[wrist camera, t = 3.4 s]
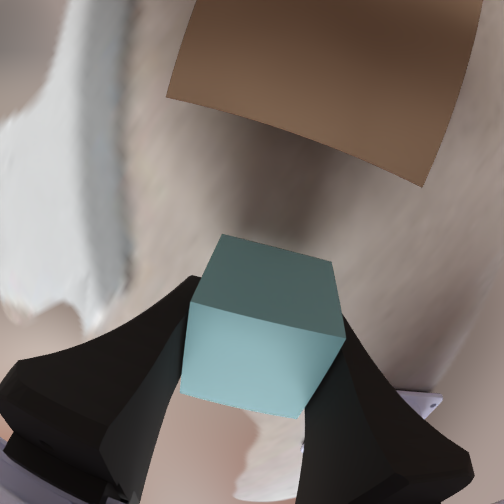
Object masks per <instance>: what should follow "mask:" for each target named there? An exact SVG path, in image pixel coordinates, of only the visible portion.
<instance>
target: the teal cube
mask: <svg viewBox="0 0 504 504" xmlns="http://www.w3.org/2000/svg"><path fill="white" fill-rule="evenodd" d="M345 340H346V334H345V328H344V322H343V317H342V312H341V306H340V301H339V296H338V291H337V286H336V281H335V276H334V271H333V267H332V262H330V261H326V260H323V259H319V258H315V257H311V256H307V255H303V254H299V253H296V252H292V251H288V250H284V249H280V248H276V247H272V246H268V245H264V244H260V243H257V242H253V241H249V240H245V239H241V238H237V237H233V236H229V235H225V234H222V235H221V237H220V239H219V242H218V244H217V246H216V248H215V250H214V252H213V254H212V256H211V258H210V260H209V263H208V265H207V267H206V269H205V271H204V273H203V275H202V277H201V280H200V282H199V284H198V286H197V288H196V290H195V293H194V295H193V297H192V299H191V301H190V308H189V316H188V323H187V331H186V340H185V348H184V357H183V366H182V375H181V386H180V393H182V394H186V395H189V396H193V397H196V398H200V399H204V400H207V401H212V402H215V403H219V404H223V405H228V406H232V407H236V408H241V409H245V410H250V411H255V412H260V413H265V414H270V415H276V416H282V417H288V418H294V419H297V418H298V417H299V415H300V414H301V412H302V411H303V409H304V408H305V406H306V405H307V403H308V402H309V400H310V398H311V397H312V395H313V394H314V392H315V391H316V389H317V387H318V386H319V384H320V383H321V381H322V379H323V378H324V376H325V374H326V373H327V371H328V369H329V368H330V366H331V364H332V363H333V361H334V359H335V357H336V356H337V354H338V352H339V350H340V349H341V347H342V345H343V343H344V342H345Z"/></svg>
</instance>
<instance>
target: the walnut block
mask: <svg viewBox="0 0 504 504" xmlns="http://www.w3.org/2000/svg"><path fill="white" fill-rule="evenodd" d="M482 2H483V0H197V1H196V4H195V6H194V9H193V12H192V15H191V17H190V20H189V23H188V26H187V29H186V32H185V35H184V38H183V41H182V44H181V47H180V50H179V53H178V56H177V60H176V63H175V66H174V70H173V73H172V77H171V80H170V84H169V87H168V91H167V95H166V97H167V98H172V99H176V100H180V101H185V102H189V103H193V104H197V105H201V106H205V107H209V108H213V109H217V110H220V111H224V112H228V113H231V114H235V115H238V116H242V117H245V118H248V119H252V120H255V121H258V122H261V123H264V124H268V125H271V126H274V127H277V128H280V129H283V130H286V131H289V132H292V133H294V134H297V135H300V136H303V137H306V138H308V139H311V140H314V141H316V142H319V143H322V144H324V145H327V146H330V147H332V148H335V149H337V150H340V151H342V152H345V153H347V154H350V155H352V156H354V157H357V158H359V159H361V160H364V161H366V162H368V163H371V164H373V165H375V166H378V167H380V168H382V169H384V170H386V171H389V172H391V173H393V174H395V175H397V176H399V177H401V178H403V179H406V180H408V181H410V182H412V183H414V184H416V185H418V186H420V187H423V185H424V183H425V180H426V178H427V176H428V174H429V171H430V169H431V167H432V164H433V162H434V159H435V157H436V155H437V152H438V150H439V147H440V145H441V142H442V140H443V137H444V134H445V132H446V129H447V126H448V124H449V121H450V118H451V115H452V113H453V110H454V107H455V104H456V101H457V98H458V95H459V92H460V89H461V86H462V83H463V79H464V76H465V73H466V69H467V66H468V62H469V59H470V55H471V51H472V47H473V44H474V40H475V35H476V31H477V27H478V22H479V18H480V13H481V8H482Z"/></svg>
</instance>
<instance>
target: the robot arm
mask: <svg viewBox="0 0 504 504" xmlns="http://www.w3.org/2000/svg"><path fill="white" fill-rule="evenodd" d="M200 280H201V277H197V276H193V275H191V276H189V277H188V278H187V279H185V280H184V281H183V282H182V283H181V284H180V285H179V286H177V287H176V288H175V289H174V290H173V291H171V292H170V293H169V294H168V295H166V296H165V297H164V298H162V299H161V300H160V301H158V302H157V303H156V304H154V305H153V306H152V307H150V308H149V309H147V310H146V311H144V312H143V313H141V314H140V315H138V316H137V317H135V318H134V319H132V320H130V321H129V322H127V323H125V324H123V325H122V326H120V327H118V328H116V329H114V330H112V331H110V332H108V333H106V334H104V335H102V336H100V337H97V338H95V339H93V340H90V341H88V342H86V343H83V344H80V345H77V346H75V347H72V348H69V349H66V350H62V351H59V352H56V353H52V354H48V355H43V356H38V357H34V358H29V359H24V360H18V362H17V363H16V364H15V365H14V366H13V367H12V368H11V369H10V371H9V372H8V374H7V375H6V376H5V378H4V379H3V380H2V382H1V383H0V414H1V415H2V417H3V418H4V419H5V421H6V422H7V423H8V425H9V426H10V428H11V429H12V430H13V431H14V432H13V434H12V435H11V437H10V439H9V441H8V442H7V441H5V440H4V439H2V438H1V437H0V504H139V503H140V500H141V495H142V491H143V488H144V484H145V480H146V476H147V473H148V469H149V465H150V462H151V458H152V455H153V451H154V448H155V444H156V441H157V438H158V435H159V431H160V428H161V425H162V422H163V419H164V416H165V413H166V409H167V406H168V404H169V401H170V399H171V396H172V394H173V392H174V390H175V388H176V385H177V383H178V381H179V379H180V377H181V375H182V366H183V357H184V348H185V340H186V331H187V323H188V316H189V308H190V301H191V299H192V297H193V295H194V293H195V290H196V288H197V286H198V284H199V282H200ZM342 317H343V322H344V328H345V334H346V340H345V342H344V343H343V345H342V347H341V349H340V350H339V352H338V354H337V356H336V357H335V359H334V361H333V363H332V364H331V366H330V368H329V369H328V371H327V373H326V374H325V376H324V378H323V379H322V381H321V383H320V384H319V386H318V387H317V389H316V391H315V392H314V394H313V395H312V397H311V398H310V400H309V402H308V403H307V405H306V406H305V440H304V444H303V445H302V446H301V452H302V453H303V459H302V466H301V473H300V480H299V486H298V491H297V497H296V502H295V504H441V502H442V501H444V500H445V499H447V498H449V497H450V496H452V495H454V494H455V493H457V492H459V491H460V490H462V489H463V488H465V487H466V486H467V485H468V484H470V483H471V481H472V480H473V478H474V476H475V475H474V471H473V467H472V463H471V459H470V455H469V452H467V451H466V450H464V449H463V448H461V447H460V446H458V445H456V444H455V443H454V442H452V441H451V440H449V439H447V438H446V437H445V436H444V435H442V434H441V433H440V432H439V431H437V430H436V429H435V428H434V427H432V426H431V425H430V424H429V423H428V422H426V421H425V420H424V419H425V418H426V417H427V416H428V415H429V414H430V413H431V412H432V411H433V410H434V409H435V408H436V407H437V406H438V405H439V404H440V403H441V401H442V400H443V396H442V394H438V393H423V392H409V391H398V390H395V389H394V388H393V387H392V386H391V384H390V383H389V382H388V381H387V379H386V378H385V377H384V376H383V374H382V373H381V371H380V370H379V369H378V367H377V366H376V365H375V363H374V362H373V360H372V359H371V358H370V356H369V355H368V353H367V352H366V350H365V349H364V347H363V346H362V344H361V342H360V341H359V339H358V338H357V336H356V334H355V333H354V331H353V330H352V328H351V327H350V325H349V323H348V322H347V320H346V319H345V317H344V316H343V314H342ZM492 504H504V500H500V501H498V502H495V503H492Z"/></svg>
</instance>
